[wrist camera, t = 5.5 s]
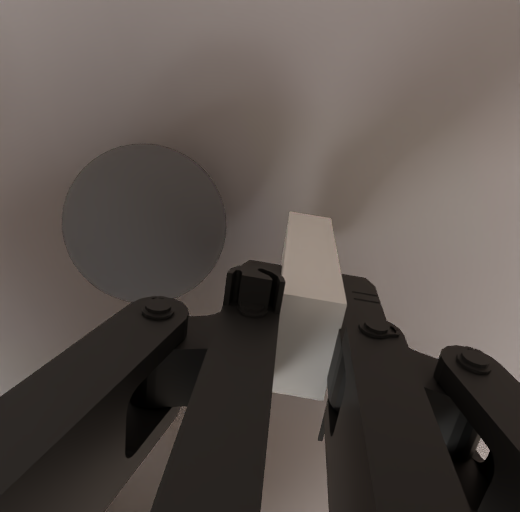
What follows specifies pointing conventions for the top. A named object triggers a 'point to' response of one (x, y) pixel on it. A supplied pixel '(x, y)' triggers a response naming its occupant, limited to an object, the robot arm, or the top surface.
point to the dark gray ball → (143, 222)
